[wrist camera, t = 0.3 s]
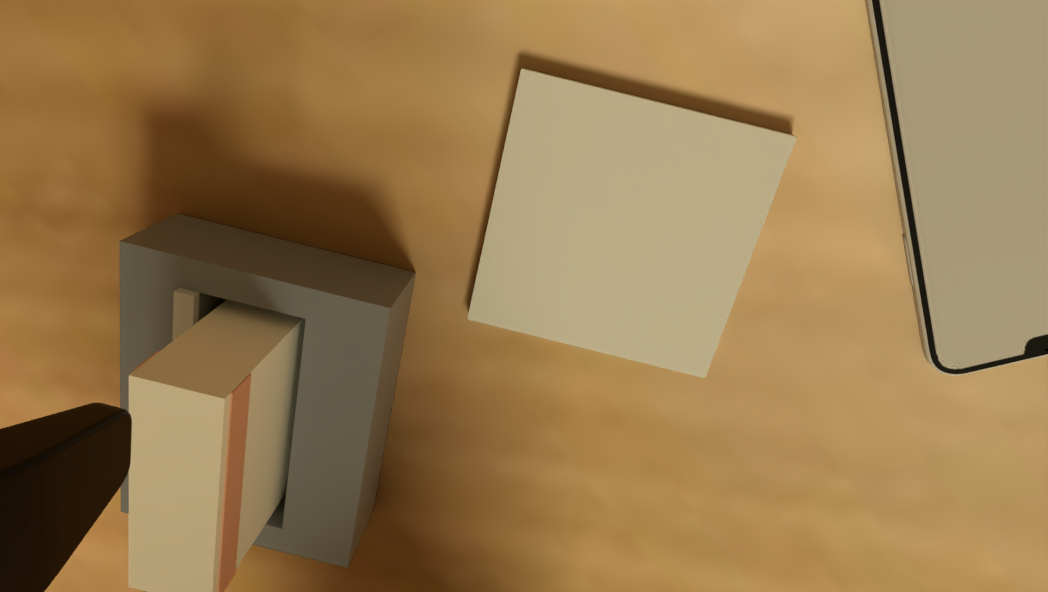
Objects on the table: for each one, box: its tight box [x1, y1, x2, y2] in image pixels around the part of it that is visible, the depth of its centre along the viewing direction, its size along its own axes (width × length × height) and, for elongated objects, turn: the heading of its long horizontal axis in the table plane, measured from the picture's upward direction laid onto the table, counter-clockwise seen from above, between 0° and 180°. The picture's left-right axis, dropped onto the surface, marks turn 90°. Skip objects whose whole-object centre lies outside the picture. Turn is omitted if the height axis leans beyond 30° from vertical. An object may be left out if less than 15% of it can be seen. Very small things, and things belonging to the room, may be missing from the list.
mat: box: [467, 68, 797, 378], centre depth 21 cm, size 8×8×1 cm
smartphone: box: [865, 0, 1048, 376], centre depth 19 cm, size 7×1×15 cm
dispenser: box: [120, 214, 416, 568], centre depth 23 cm, size 10×8×3 cm
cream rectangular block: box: [129, 300, 306, 592], centre depth 21 cm, size 7×2×7 cm, turn 167°
